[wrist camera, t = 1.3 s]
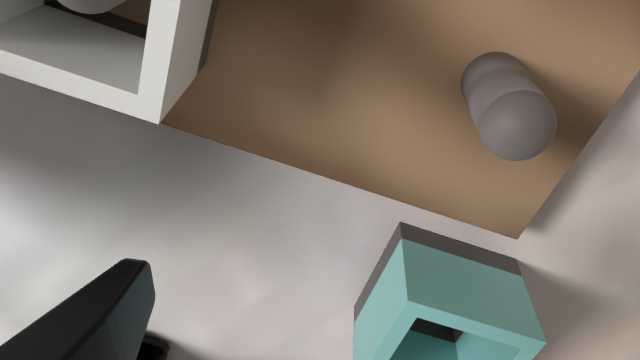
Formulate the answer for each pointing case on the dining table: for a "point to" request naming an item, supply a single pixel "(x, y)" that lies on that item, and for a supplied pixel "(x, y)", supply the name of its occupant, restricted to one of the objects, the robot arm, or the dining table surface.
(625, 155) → the dining table surface
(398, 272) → the teal sleeve
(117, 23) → the grey sleeve
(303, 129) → the pin board
